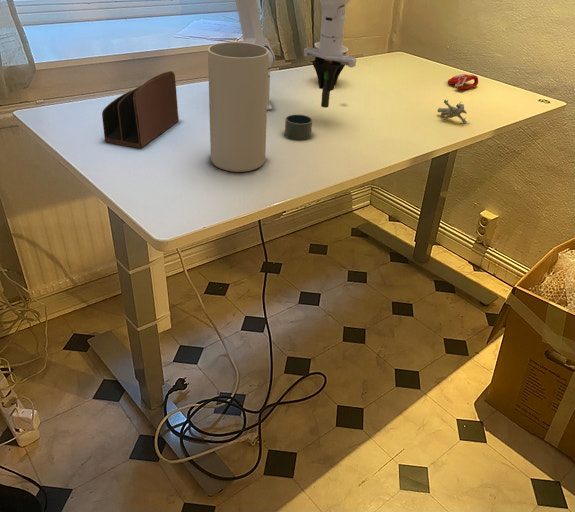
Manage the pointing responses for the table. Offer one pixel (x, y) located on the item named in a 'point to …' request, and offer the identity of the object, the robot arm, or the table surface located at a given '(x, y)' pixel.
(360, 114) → the table surface
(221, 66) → the cylinder vase
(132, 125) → the letter holder
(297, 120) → the tumbler
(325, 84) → the marker
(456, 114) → the grey toy animal
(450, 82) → the keychain holder
